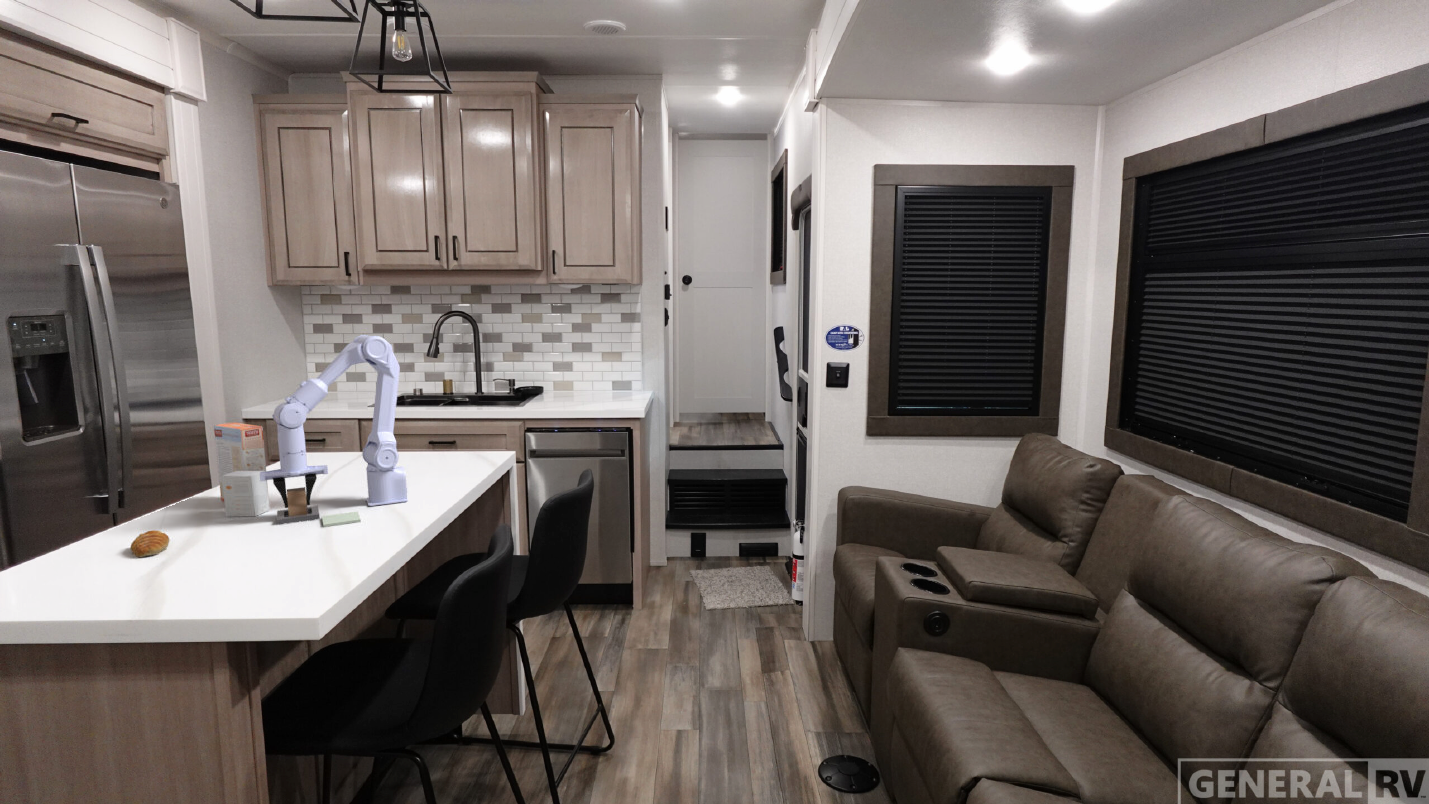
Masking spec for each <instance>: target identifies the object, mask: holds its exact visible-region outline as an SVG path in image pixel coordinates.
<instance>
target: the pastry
mask: <svg viewBox="0 0 1429 804" xmlns="http://www.w3.org/2000/svg"><path fill="white" fill-rule="evenodd" d="M170 541H171V539H170V538H169V535H167V534H166V533H165V532H162V531H160V530H154V529H153V530H147V531H145V532H143V533H140V534H139V535H138V536H136V537H135V539H134V540H133V541H132V542H131V543H130V551H131V552H132V555H134V556H135V557H137V558H143V557H146V556H153V555H159V554H160V553H162V552H165V551H166V550H167V548H168V547H169V544H170Z"/></svg>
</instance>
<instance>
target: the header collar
mask: <svg viewBox="0 0 1429 804" xmlns="http://www.w3.org/2000/svg"><path fill="white" fill-rule="evenodd" d="M309 512H311V513H309ZM307 513H308V514H306V515H298V516H291V517H289V511H288V508H286V509H282V510H281V509H280V510H279V509H278V510H277V511H276V522H277V524H279V525H285V524H284V523H287V524H290V523H289V522H294V523H300V522H299V521H301V522H307V520H308V521H314V520H315V519H316V520H320V510H319V505H313V506H311V505H309V506H307ZM285 515H288V516H285ZM316 520H315V521H316Z"/></svg>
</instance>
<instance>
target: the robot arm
mask: <svg viewBox="0 0 1429 804" xmlns="http://www.w3.org/2000/svg"><path fill="white" fill-rule="evenodd" d="M363 363H368V364H369V365H370V366H371V367H372V368H373V370H375V371H376V372H377V377H376V386H375V387H376V388H375V396H374V397H375V398H374V403H373V405H374V406H373V414H372V415H373V416H372V425H371V432H370V433H369V435H368V436H367V441H366V444H365V445H364V447H363V450H362V459H363V460H364V462H365V463H367V465H366V466H367V467H365V468H366V470H365V471H366V480H367V481H366V482H367V483H366V484H367V495H368V496H367V497H366V498H365V500H366V503H367V505H368V507H374V506H376V507H377V506H381V505H389V504H395V503H396V504H397V503H404V502H408V501H409V500H408V487H407V478H406V477H407V476H406V470H405V467H404V466H397V464H398V462H399V457H400V456H399V452H398V449H397V439H396V438H395V435H394V429H395V418H396V410H397V409H396V408H397V401H398V389H399V382H400V381H399V380H400V369H401V367H400V363H399V362H398V360H397V358H396V355H395V354H394V352H393V345H391V343H389V342H388V341H387V340H386V339H385V338H383V336H378V335H368V334H362V335H359V336H358V335H357V336H356V337H355V338H354V340H353V341H352V342H349V343H348V344H346V346H345V347H344V348H343V349H342V350H341V351H340V353H339V354H338V355H337V356H336V357H335V358H334V359H333V360H332V361H331V362H330V363H329V365H327V366H326V368H324V370H323V371H321V373H320V374H319V375H318V376H317V377H316V378H308V379H306V380H302V381H301V382H300V383H299V384H298V385H299V387H298V388H297V389H296V390H295V391H294V392H293V393H292V394H291V395H290V396H286V397H285V398H284V401H285V402H281V403H279V404H278V405H277V406H276V407H275V408H274V410H273V411H274V412H273V414H272V419H273V421H274V422H275V423H276V427H277V444H278V454H279V455H278V456H279V463H280V464H279V467H280V469H279V468H278V469H273V470H266V471H265V472H260V481H266V480H267V481H272V484H273V485H274V487H275V488H276V490H277V491H278V493H279V494H280V496H281V497H280V498H281V499H282V501H283V505H284V509H288V500H287V487H286V486H287V485H286V479H288V478H296V477H297V478H299V477H300V478H301V477H304V480H305V490H306V502H307V506H311V497H312V496H311V495H312V493H313V489H314V487H315V483H316V481H317V476H318V475H328V474H329V469H328V465H327V464H323V465H322V464H321V465H308V460H307V449H306V436H305V432H304V424H305V422H306V420H307V414H310V412H312V410H313V409H315V408H316V407H317V406H318V405H319V404H320V402H322V401H323V400H324V399H325V397H327V396H328V392H329V390H328V389H329V388H328V387H329V386H331V384H333V383H334V382H335V381H336V380H337V379H338V378H340V376H342V375H343V374H344V373H345V372H346V371H347V370H348V369H350V367H352V366H354V365H359V364H363Z"/></svg>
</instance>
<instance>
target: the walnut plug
mask: <svg viewBox="0 0 1429 804" xmlns="http://www.w3.org/2000/svg"><path fill="white" fill-rule="evenodd" d="M286 494H287V500H288V508H287V509H288V511H289V515H288V517H291V516H298V515H306V514H309V513H307V507H308V505H307V502H306V486H305V487H296V488H295V487H293V488H286Z"/></svg>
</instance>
